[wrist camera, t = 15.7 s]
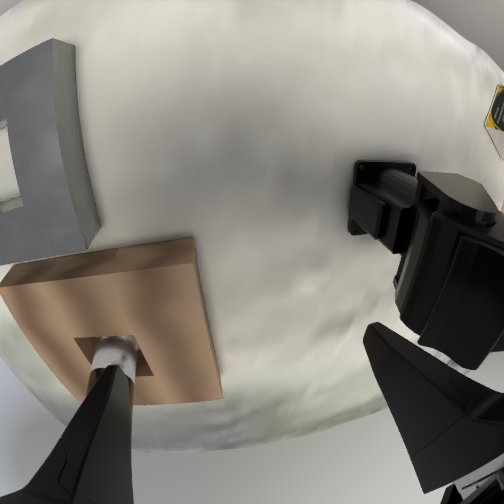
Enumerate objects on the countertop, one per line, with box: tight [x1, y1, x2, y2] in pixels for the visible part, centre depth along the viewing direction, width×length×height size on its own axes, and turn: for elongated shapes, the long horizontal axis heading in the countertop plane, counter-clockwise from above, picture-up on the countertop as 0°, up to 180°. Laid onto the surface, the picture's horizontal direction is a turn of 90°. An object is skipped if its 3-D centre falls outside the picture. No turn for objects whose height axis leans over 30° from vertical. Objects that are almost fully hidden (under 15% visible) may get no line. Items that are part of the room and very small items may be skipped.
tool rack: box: [0, 238, 223, 405], centre depth 22 cm, size 18×18×4 cm
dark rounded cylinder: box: [85, 335, 138, 438], centre depth 18 cm, size 4×4×13 cm
